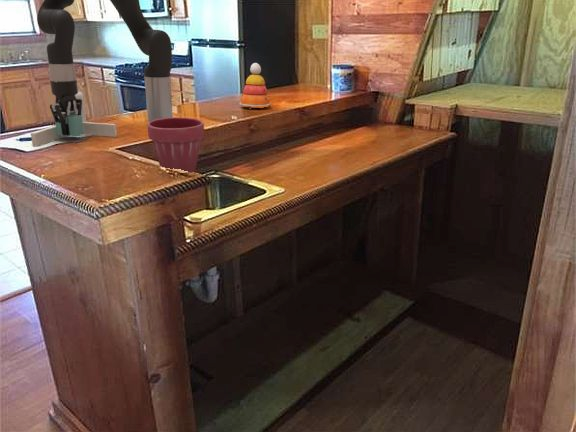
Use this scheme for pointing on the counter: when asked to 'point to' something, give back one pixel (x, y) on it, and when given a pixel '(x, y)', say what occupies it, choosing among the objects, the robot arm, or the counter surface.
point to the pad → (71, 139)
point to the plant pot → (176, 141)
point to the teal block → (72, 125)
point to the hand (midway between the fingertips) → (70, 133)
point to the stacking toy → (255, 89)
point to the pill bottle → (80, 96)
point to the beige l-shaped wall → (89, 129)
